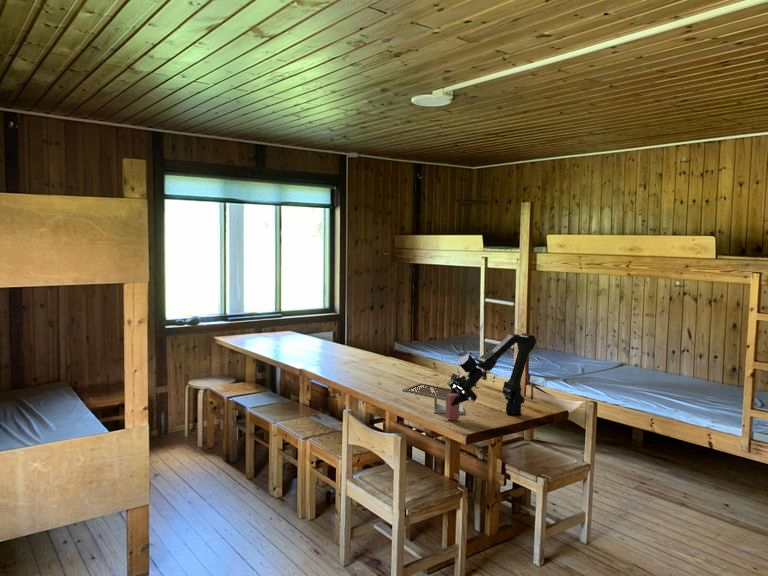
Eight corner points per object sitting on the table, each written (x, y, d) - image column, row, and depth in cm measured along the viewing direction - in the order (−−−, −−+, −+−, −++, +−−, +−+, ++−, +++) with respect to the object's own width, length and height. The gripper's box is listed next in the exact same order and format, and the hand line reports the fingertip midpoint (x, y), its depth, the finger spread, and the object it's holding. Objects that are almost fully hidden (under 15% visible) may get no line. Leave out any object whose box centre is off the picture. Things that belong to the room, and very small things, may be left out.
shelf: (462, 407, 282) (462, 392, 282) (463, 414, 271) (464, 399, 270) (433, 405, 283) (434, 391, 283) (434, 412, 272) (434, 397, 271)
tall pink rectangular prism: (454, 416, 264) (455, 393, 263) (458, 418, 261) (459, 395, 260) (445, 417, 262) (446, 393, 262) (449, 419, 259) (450, 395, 258)
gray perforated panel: (420, 382, 325) (467, 392, 308) (420, 385, 325) (467, 395, 308) (402, 389, 309) (451, 399, 292) (402, 392, 309) (451, 402, 292)
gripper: (451, 363, 270) (429, 387, 267) (472, 372, 253) (449, 398, 249) (465, 378, 274) (444, 402, 270) (486, 388, 256) (464, 414, 253)
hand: (449, 404), depth 261 cm, fingers closed on tall pink rectangular prism, 4 cm apart
